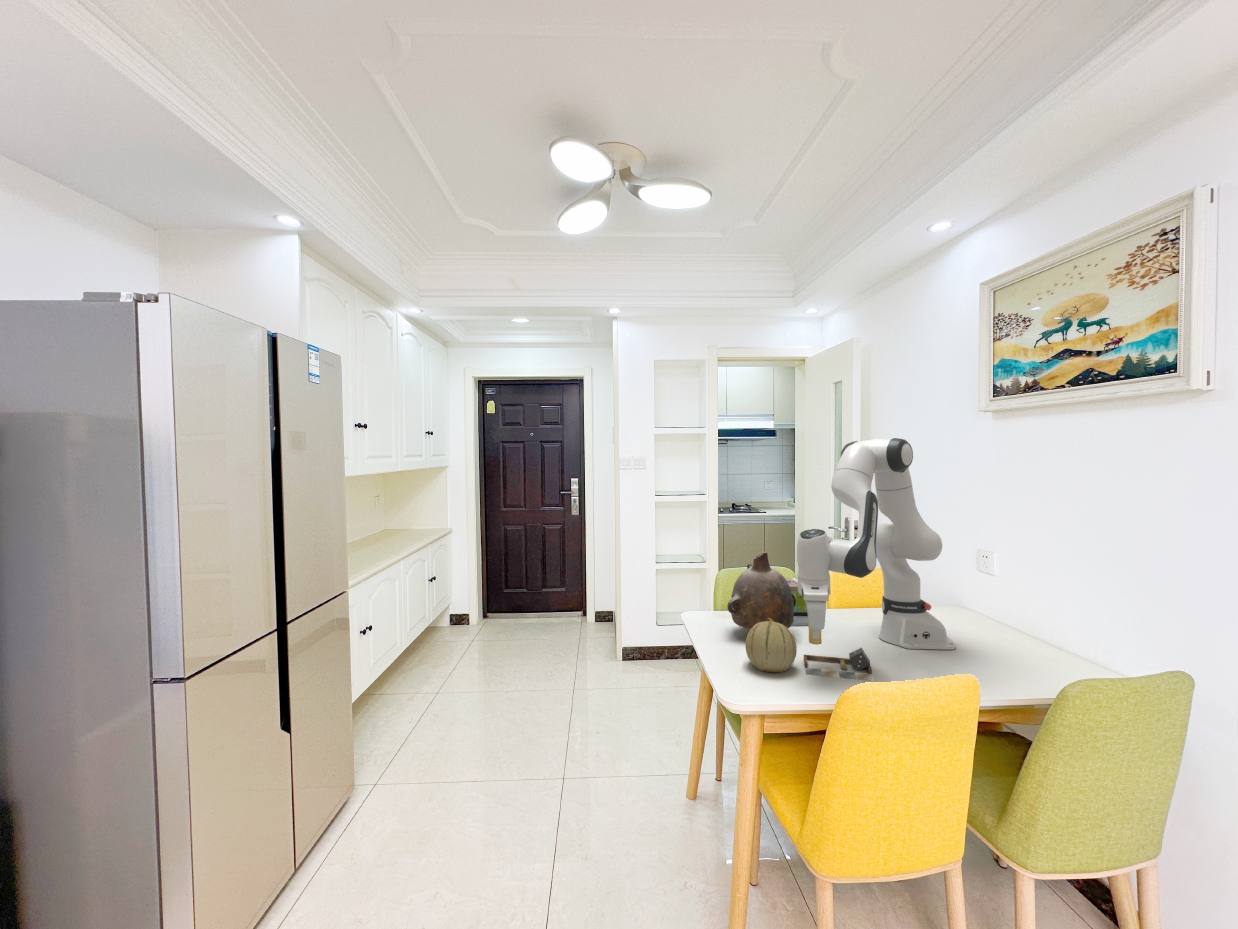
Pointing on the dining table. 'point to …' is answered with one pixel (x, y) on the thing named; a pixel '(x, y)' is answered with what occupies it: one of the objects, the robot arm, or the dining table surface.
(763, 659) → the cantaloupe
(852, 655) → the die
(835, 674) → the board
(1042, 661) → the dining table surface
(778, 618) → the jug
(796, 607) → the tea box
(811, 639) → the pawn
